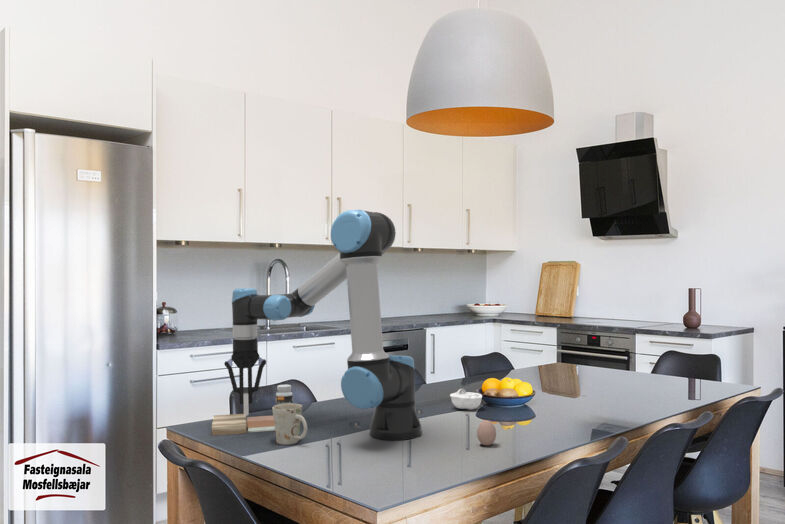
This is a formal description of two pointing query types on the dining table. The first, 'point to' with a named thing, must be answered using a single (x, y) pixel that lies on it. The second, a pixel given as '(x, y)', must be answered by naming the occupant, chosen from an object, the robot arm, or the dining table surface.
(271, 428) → the mat
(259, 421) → the tile
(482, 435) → the egg
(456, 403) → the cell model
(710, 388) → the dining table surface
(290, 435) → the mug
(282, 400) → the pill bottle
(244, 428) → the tan wooden flat block
